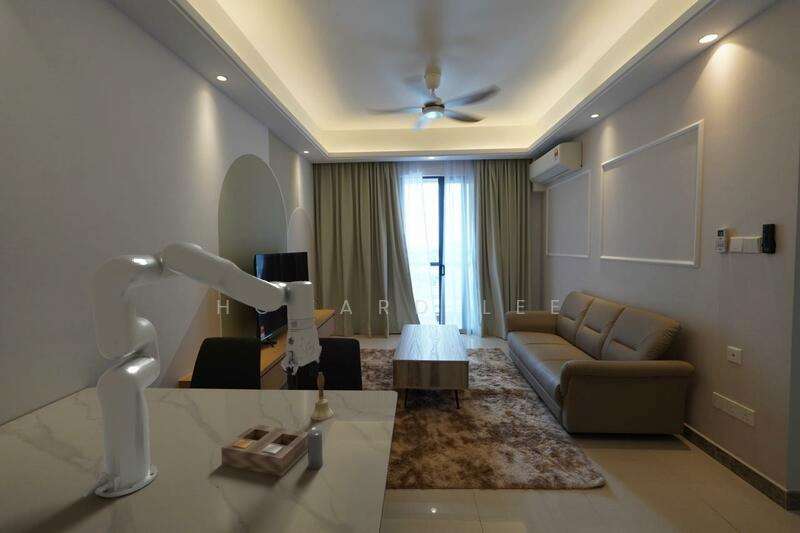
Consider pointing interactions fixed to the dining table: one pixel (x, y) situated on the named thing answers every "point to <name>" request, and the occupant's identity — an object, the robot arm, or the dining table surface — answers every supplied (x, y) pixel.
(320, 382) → the hand bell
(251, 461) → the socket block
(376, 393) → the dining table surface
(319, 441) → the plug
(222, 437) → the dining table surface
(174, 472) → the dining table surface
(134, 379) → the robot arm
